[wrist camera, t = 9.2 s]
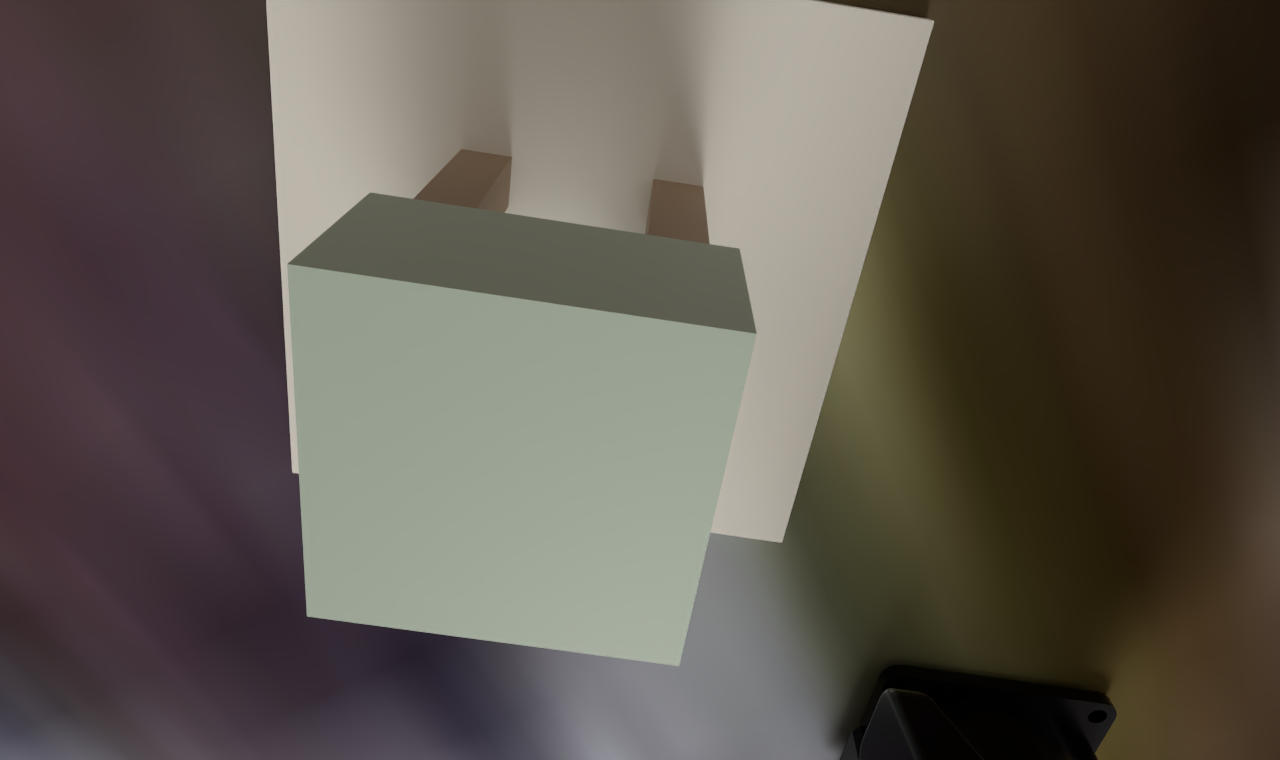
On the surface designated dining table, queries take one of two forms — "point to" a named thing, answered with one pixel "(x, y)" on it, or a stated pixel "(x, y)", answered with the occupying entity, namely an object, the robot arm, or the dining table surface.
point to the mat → (624, 153)
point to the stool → (515, 415)
